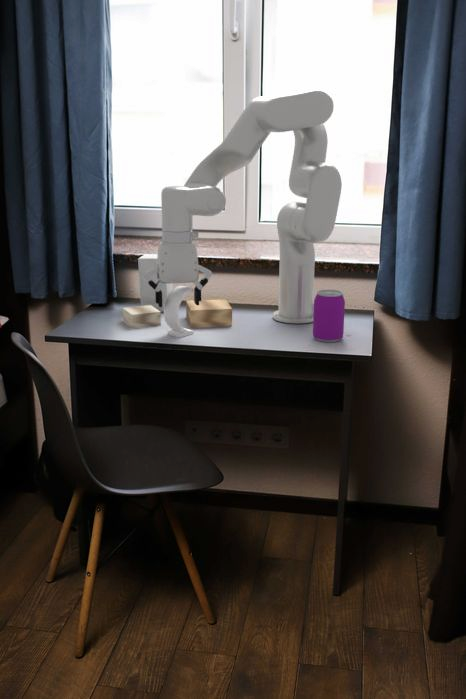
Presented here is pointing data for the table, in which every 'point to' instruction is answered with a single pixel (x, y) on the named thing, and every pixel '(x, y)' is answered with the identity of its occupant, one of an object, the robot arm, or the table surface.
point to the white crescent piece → (176, 311)
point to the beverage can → (328, 316)
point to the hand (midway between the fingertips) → (178, 304)
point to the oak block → (209, 313)
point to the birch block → (141, 316)
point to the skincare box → (146, 290)
